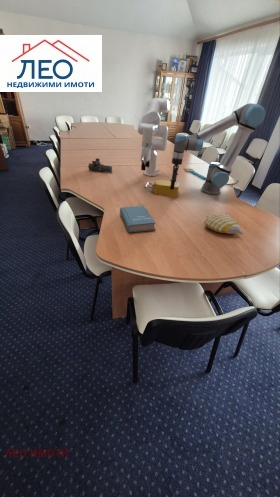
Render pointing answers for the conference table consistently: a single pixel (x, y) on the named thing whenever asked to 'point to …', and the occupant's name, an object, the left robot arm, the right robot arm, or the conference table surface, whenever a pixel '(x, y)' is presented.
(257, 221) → the conference table surface
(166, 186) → the cabinet
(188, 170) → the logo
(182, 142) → the right robot arm
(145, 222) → the book
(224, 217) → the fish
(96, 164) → the laser sight
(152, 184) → the drawer
